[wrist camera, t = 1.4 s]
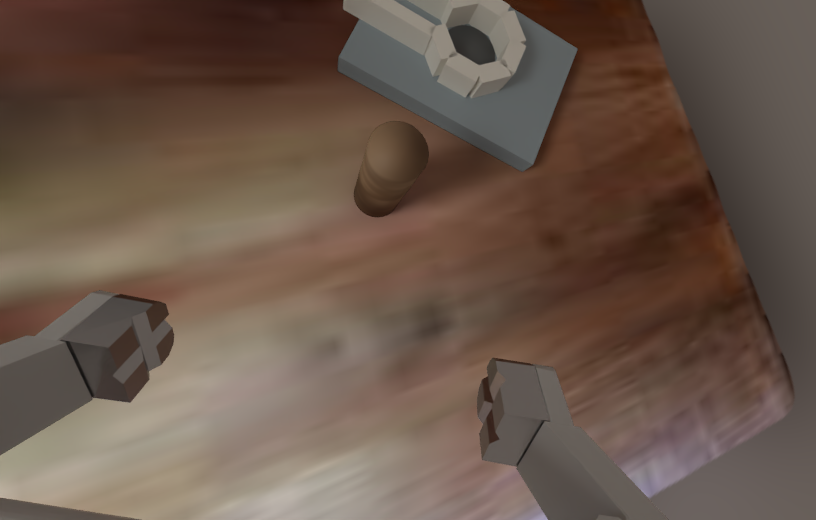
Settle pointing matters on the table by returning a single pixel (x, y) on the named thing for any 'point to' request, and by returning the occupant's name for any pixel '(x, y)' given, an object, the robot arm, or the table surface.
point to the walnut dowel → (389, 167)
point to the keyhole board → (462, 116)
